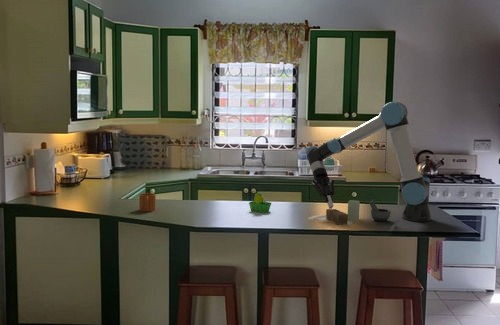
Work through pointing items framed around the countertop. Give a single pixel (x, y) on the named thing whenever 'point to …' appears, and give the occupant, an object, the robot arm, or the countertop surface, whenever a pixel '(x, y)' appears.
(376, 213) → the mortar and pestle
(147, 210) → the mug
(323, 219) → the maple board
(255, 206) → the fruit basket
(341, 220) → the walnut block
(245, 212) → the countertop surface
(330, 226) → the countertop surface
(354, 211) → the sage-green block
